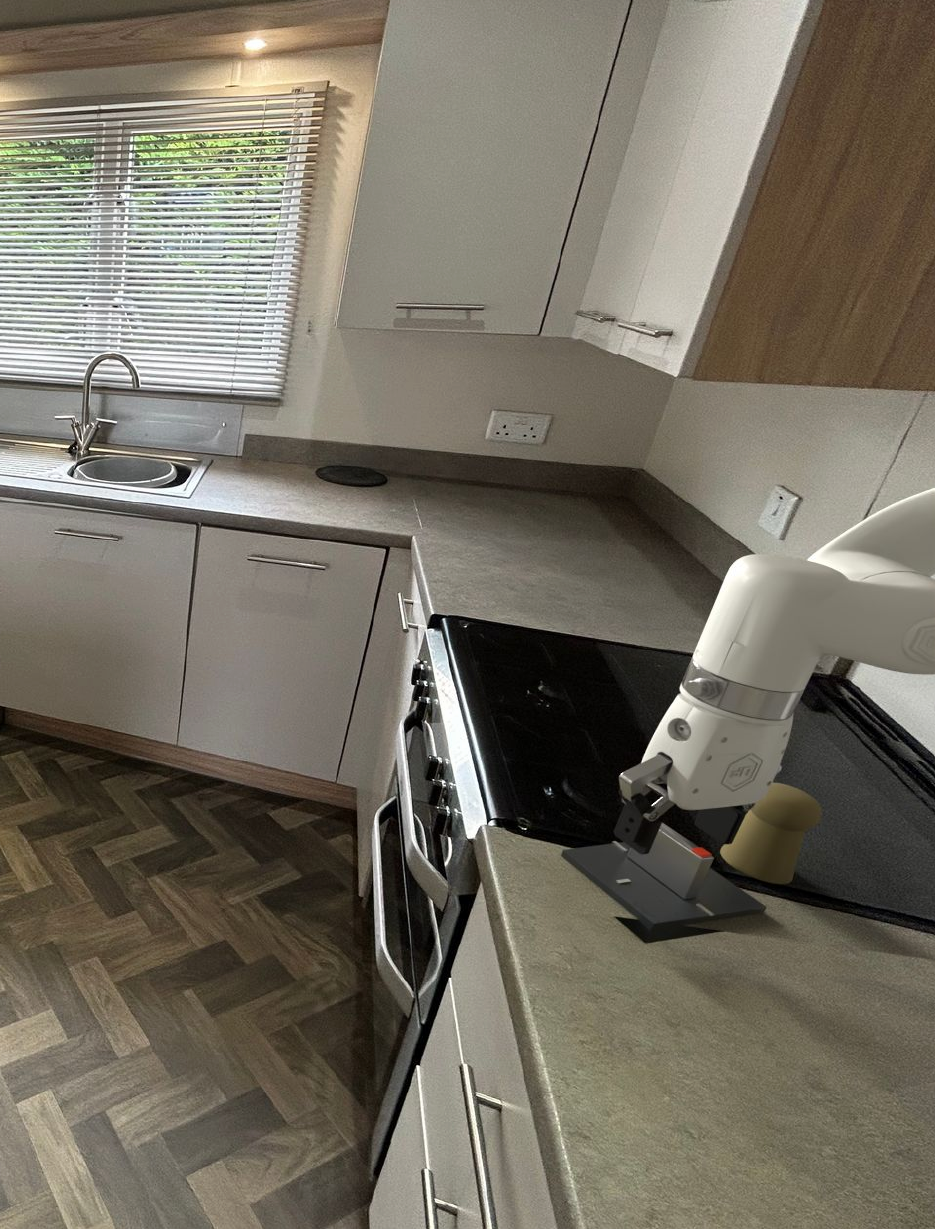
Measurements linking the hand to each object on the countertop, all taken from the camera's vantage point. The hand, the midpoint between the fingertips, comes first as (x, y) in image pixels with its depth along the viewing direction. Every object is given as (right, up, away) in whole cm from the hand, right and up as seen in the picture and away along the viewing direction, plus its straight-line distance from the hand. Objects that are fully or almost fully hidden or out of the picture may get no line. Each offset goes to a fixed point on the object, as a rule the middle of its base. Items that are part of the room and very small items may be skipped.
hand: (671, 839), depth 74 cm
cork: (+13, -6, +5) cm, 15 cm away
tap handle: (0, -4, +2) cm, 5 cm away
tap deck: (0, -7, +2) cm, 7 cm away
